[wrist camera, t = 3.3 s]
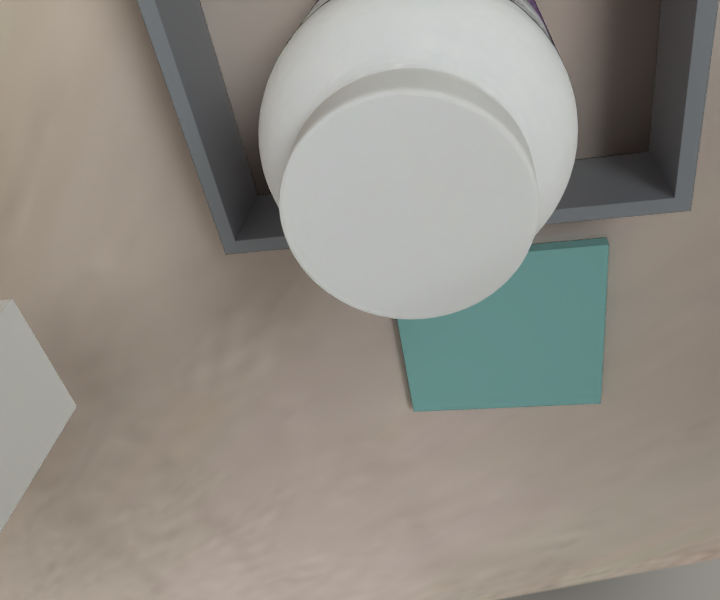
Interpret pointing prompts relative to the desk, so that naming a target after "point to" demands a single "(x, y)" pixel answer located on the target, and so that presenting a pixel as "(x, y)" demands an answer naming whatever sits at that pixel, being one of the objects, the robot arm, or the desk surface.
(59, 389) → the robot arm
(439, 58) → the pill bottle
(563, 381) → the pad
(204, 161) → the rectangular frame
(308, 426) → the desk surface
